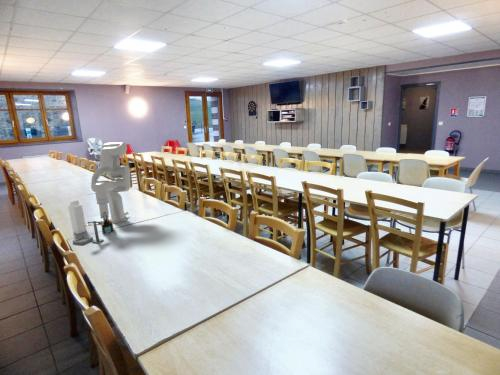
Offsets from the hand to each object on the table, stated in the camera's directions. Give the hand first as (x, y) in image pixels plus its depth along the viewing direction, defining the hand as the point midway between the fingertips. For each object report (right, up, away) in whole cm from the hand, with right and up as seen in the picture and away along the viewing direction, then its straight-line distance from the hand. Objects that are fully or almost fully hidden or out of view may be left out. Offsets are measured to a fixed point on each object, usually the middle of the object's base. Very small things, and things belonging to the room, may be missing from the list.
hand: (106, 225), depth 208 cm
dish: (-8, -9, -15) cm, 19 cm away
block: (0, -4, +2) cm, 5 cm away
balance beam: (+1, +2, -19) cm, 20 cm away
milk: (-20, -5, +4) cm, 21 cm away
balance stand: (+2, -8, -16) cm, 18 cm away
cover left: (0, -4, +2) cm, 5 cm away
